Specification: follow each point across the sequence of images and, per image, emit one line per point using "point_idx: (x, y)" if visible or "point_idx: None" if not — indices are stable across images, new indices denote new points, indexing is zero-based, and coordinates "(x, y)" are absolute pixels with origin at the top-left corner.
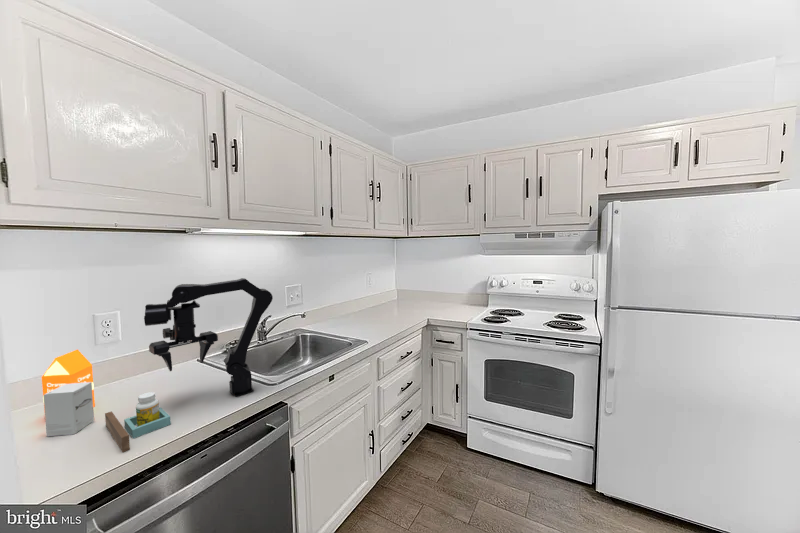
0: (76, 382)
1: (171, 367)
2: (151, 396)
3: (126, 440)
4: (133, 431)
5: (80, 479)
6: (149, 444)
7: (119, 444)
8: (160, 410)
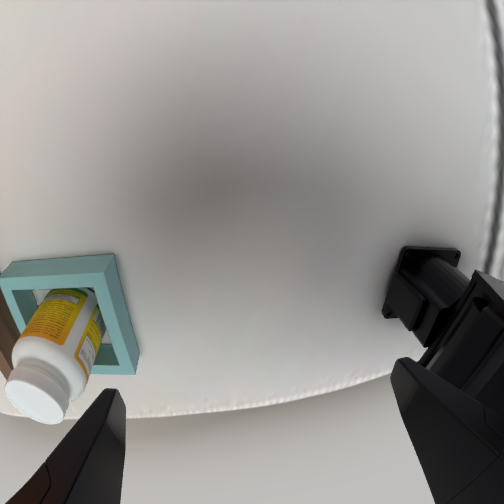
0: None
1: (120, 449)
2: (56, 422)
3: None
4: None
5: (8, 406)
6: (92, 400)
7: None
8: (103, 304)
